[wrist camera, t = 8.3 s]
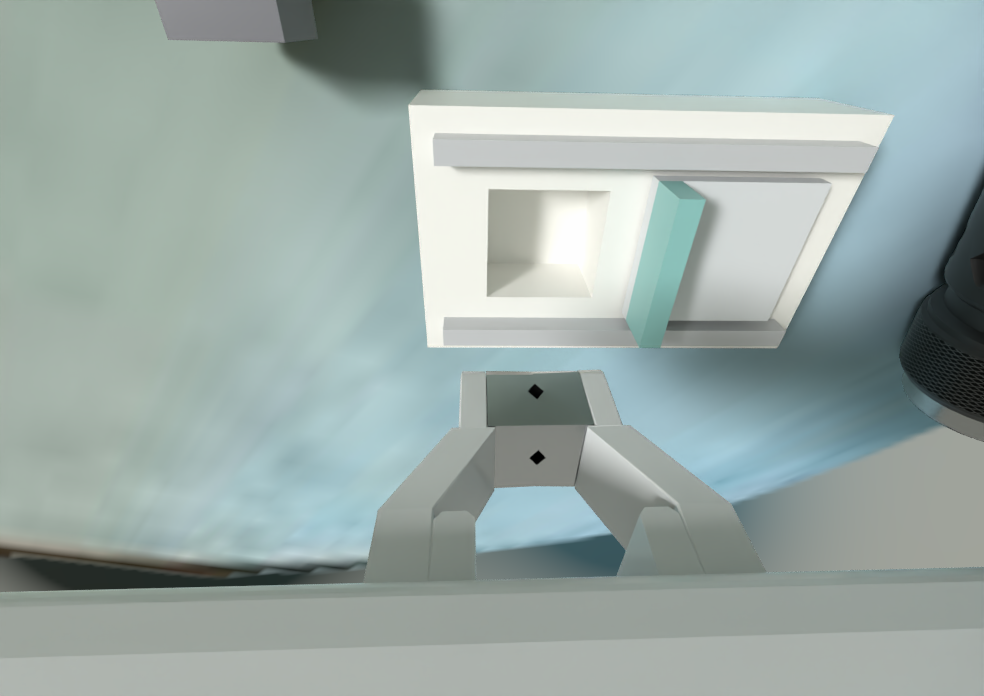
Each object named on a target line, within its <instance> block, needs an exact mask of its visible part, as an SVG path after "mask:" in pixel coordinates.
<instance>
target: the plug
mask: <svg viewBox="0 0 984 696" xmlns="http://www.w3.org/2000/svg"><path fill="white" fill-rule="evenodd" d="M155 2H156V5H157V8H158V11H159V14H160V17H161V20H162V23H163V26H164V29H165V32H166V35H167V38H168V40H199V41H239V42H279V43H286V42H295V41H304V40H313V39H318V35H317V29H316V24H315V18H314V12H313V6H312V1H311V0H155Z"/></svg>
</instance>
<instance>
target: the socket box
mask: <svg viewBox="0 0 984 696" xmlns="http://www.w3.org/2000/svg"><path fill="white" fill-rule="evenodd" d="M408 106H409V119H410V131H411V144H412V156H413V169H414V181H415V193H416V206H417V218H418V231H419V243H420V256H421V268H422V281H423V293H424V305H425V318H426V330H427V343H428V347H523V348H639V346H638V344H637V342H636V340H635V338H634V336H633V334H632V332H631V330H630V328H629V326H628V324H627V322H626V320H625V318H624V316H623V314H622V308H623V304H624V300H625V295H626V291H627V287H628V282H629V278H630V274H631V269H632V265H633V261H634V256H635V252H636V248H637V243H638V239H639V235H640V230H641V226H642V222H643V217H644V213H645V208H646V204H647V200H648V195H649V191H650V187H651V182H652V178H653V176H716V177H780V178H821V179H824V180H826V181H828V182H830V183H832V185H831V187H830V189H829V191H828V194H827V196H826V198H825V200H824V202H823V204H822V206H821V208H820V211H819V213H818V215H817V217H816V219H815V221H814V223H813V226H812V228H811V230H810V232H809V234H808V236H807V238H806V241H805V243H804V245H803V247H802V249H801V251H800V253H799V255H798V258H797V260H796V262H795V264H794V266H793V268H792V270H791V273H790V275H789V277H788V279H787V281H786V283H785V285H784V288H783V290H782V292H781V294H780V296H779V298H778V300H777V303H776V305H775V307H774V309H773V311H772V313H771V315H770V317H769V320H768V321H668V324H667V328H666V331H665V334H664V337H663V340H662V344H661V347H660V348H777V347H778V346H779V344H780V342H781V340H782V338H783V336H784V334H785V332H786V329H787V327H788V325H789V323H790V321H791V319H792V317H793V315H794V313H795V311H796V309H797V307H798V305H799V304H800V302H801V300H802V298H803V296H804V294H805V292H806V290H807V288H808V286H809V284H810V282H811V280H812V278H813V276H814V274H815V272H816V270H817V268H818V266H819V264H820V262H821V260H822V258H823V256H824V254H825V252H826V250H827V248H828V246H829V244H830V242H831V240H832V238H833V236H834V234H835V232H836V230H837V228H838V226H839V224H840V222H841V220H842V218H843V216H844V214H845V212H846V210H847V208H848V206H849V204H850V202H851V200H852V198H853V196H854V194H855V193H856V191H857V189H858V187H859V185H860V183H861V181H862V179H863V177H864V175H865V173H866V172H867V170H868V168H869V166H870V164H871V162H872V160H873V158H874V156H875V154H876V152H877V150H878V149H879V145H880V143H881V141H882V139H883V137H884V135H885V133H886V131H887V129H888V127H889V125H890V123H891V121H892V119H893V117H894V115H892V114H887V113H883V112H878V111H874V110H870V109H865V108H861V107H856V106H852V105H848V104H843V103H839V102H834V101H830V100H826V99H821V98H790V97H744V96H698V95H653V94H607V93H561V92H515V91H469V90H423V89H421V91H420V92H419V93H418V94H417V95H416V97H415V98H414V99H413V100H412V101H411V103H410V104H409V105H408Z"/></svg>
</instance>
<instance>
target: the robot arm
mask: <svg viewBox="0 0 984 696" xmlns="http://www.w3.org/2000/svg"><path fill="white" fill-rule="evenodd" d="M525 486H575V489H576V491H577V492H578V493H579V494H580V495H581V497H582V498H583V499H584V500H585V501H586V503H587V504H588V505H589V506H590V507H591V509H592V510H593V511H594V512H595V514H596V515H597V516H598V517H599V518H600V520H601V521H602V522H603V523H604V524H605V526H606V527H607V528H608V529H609V530H610V532H611V533H612V534H613V535H614V537H615V538H616V539H617V540H618V541H619V543H620V544H621V545H622V546H623V547H624V549H625V550H626V552H625V555H624V558H623V560H622V563H621V566H620V568H619V571H618V573H617V576H616V577H579V578H542V579H508V580H507V579H505V580H476V545H475V522H476V520H477V519H478V517H479V515H480V514H481V512H482V510H483V509H484V507H485V505H486V503H487V502H488V500H489V498H490V497H491V495H492V493H493V492H494V488H503V487H525ZM0 696H984V567H969V568H967V567H966V568H929V569H928V568H927V569H890V570H850V571H815V572H814V571H813V572H812V571H811V572H774V573H773V572H772V573H767V572H766V570H765V568H764V566H763V564H762V562H761V560H760V559H759V557H758V555H757V553H756V551H755V549H754V547H753V545H752V543H751V541H750V539H749V537H748V536H747V534H746V532H745V530H744V528H743V526H742V524H741V522H740V520H739V518H738V516H737V514H736V512H735V510H734V509H733V507H732V505H731V503H729V502H728V501H727V500H725V499H724V498H723V497H722V496H720V495H719V494H718V493H716V492H715V491H714V490H713V489H711V488H710V487H709V486H707V485H706V484H705V483H704V482H702V481H701V480H700V479H698V478H697V477H696V476H695V475H693V474H692V473H691V472H689V471H688V470H687V469H686V468H684V467H683V466H682V465H680V464H679V463H678V462H677V461H675V460H674V459H673V458H671V457H670V456H669V455H668V454H666V453H665V452H664V451H662V450H661V449H660V448H659V447H657V446H656V445H655V444H654V443H652V442H651V441H650V440H648V439H647V438H646V437H645V436H643V435H642V434H641V433H639V432H638V431H637V430H636V429H634V428H633V427H632V426H630V425H623V424H622V421H621V419H620V416H619V413H618V411H617V408H616V405H615V402H614V400H613V397H612V394H611V391H610V389H609V386H608V383H607V381H606V378H605V375H604V373H603V372H602V371H601V370H578V371H549V372H511V371H486V373H485V372H478V371H462V374H461V386H460V411H459V428H451V429H450V430H449V432H448V433H447V434H446V435H445V436H444V437H443V438H442V439H441V440H440V442H439V443H438V444H437V445H436V446H435V447H434V448H433V449H432V450H431V452H430V453H429V454H428V455H427V456H426V457H425V458H424V459H423V461H422V462H421V463H420V464H419V465H418V466H417V467H416V468H415V469H414V471H413V472H412V473H411V474H410V475H409V476H408V477H407V478H406V480H405V481H404V482H403V483H402V484H401V485H400V486H399V487H398V488H397V490H396V491H395V492H394V493H393V494H392V495H391V496H390V497H389V498H388V500H387V501H386V502H385V503H384V504H383V505H382V506H381V507H380V509H379V510H378V513H377V518H376V523H375V527H374V532H373V537H372V542H371V547H370V552H369V557H368V562H367V567H366V573H365V577H364V582H363V583H350V584H314V585H313V584H311V585H271V586H235V587H233V586H232V587H192V588H152V589H113V590H72V591H33V592H32V591H30V592H0Z"/></svg>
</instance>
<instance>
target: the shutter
mask: <svg viewBox="0 0 984 696" xmlns="http://www.w3.org/2000/svg"><path fill="white" fill-rule="evenodd" d="M831 185H832V183H830V182H828V181H826V180H824V179H821V178H780V177H716V176H653V178H652V182H651V187H650V191H649V195H648V200H647V204H646V208H645V213H644V217H643V222H642V226H641V230H640V235H639V239H638V243H637V248H636V252H635V256H634V261H633V265H632V269H631V274H630V278H629V282H628V287H627V291H626V295H625V300H624V304H623V308H622V314H623V316H624V318H625V320H626V322H627V324H628V326H629V328H630V330H631V332H632V334H633V336H634V338H635V340H636V342H637V344H638V346H639V348H660V347H661V344H662V340H663V337H664V334H665V331H666V328H667V324H668V321H768V320H769V317H770V315H771V313H772V311H773V309H774V307H775V305H776V303H777V300H778V298H779V296H780V294H781V292H782V290H783V288H784V285H785V283H786V281H787V279H788V277H789V275H790V273H791V270H792V268H793V266H794V264H795V262H796V260H797V258H798V255H799V253H800V251H801V249H802V247H803V245H804V243H805V241H806V238H807V236H808V234H809V232H810V230H811V228H812V226H813V223H814V221H815V219H816V217H817V215H818V213H819V211H820V208H821V206H822V204H823V202H824V200H825V198H826V196H827V194H828V191H829V189H830V187H831Z"/></svg>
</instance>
